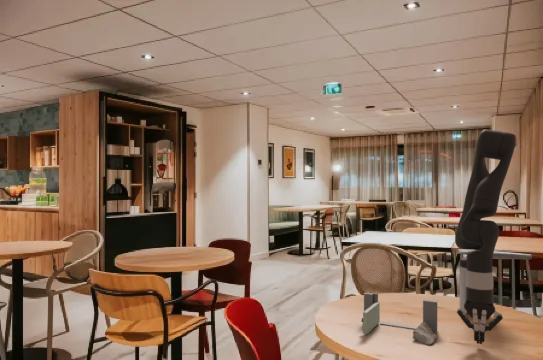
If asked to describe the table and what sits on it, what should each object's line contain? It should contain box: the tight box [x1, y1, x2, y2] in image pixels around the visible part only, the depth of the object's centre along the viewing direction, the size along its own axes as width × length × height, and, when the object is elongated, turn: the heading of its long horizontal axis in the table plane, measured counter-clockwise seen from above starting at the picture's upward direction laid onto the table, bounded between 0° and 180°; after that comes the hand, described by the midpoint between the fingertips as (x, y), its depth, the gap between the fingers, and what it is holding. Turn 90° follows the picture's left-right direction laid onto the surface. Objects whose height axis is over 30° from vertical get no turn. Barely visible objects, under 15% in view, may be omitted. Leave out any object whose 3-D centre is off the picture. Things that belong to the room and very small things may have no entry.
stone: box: [412, 321, 438, 345], centre depth 136 cm, size 6×12×4 cm, turn 145°
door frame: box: [363, 292, 438, 333], centre depth 147 cm, size 3×24×10 cm, turn 64°
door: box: [361, 301, 381, 335], centre depth 144 cm, size 2×14×7 cm, turn 149°
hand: (479, 342), depth 128 cm, fingers closed
